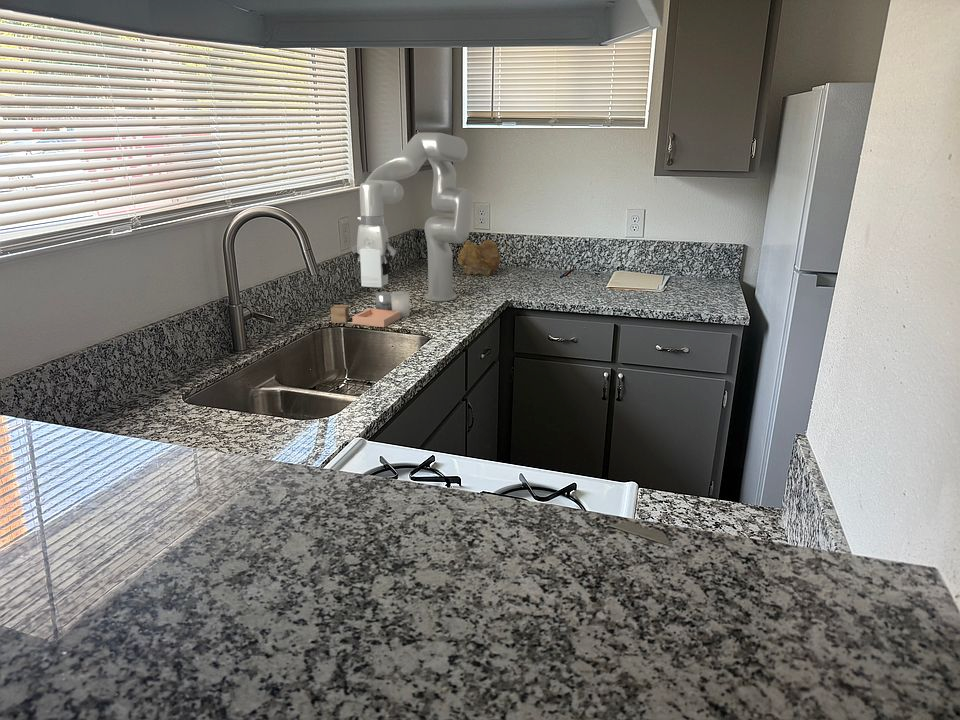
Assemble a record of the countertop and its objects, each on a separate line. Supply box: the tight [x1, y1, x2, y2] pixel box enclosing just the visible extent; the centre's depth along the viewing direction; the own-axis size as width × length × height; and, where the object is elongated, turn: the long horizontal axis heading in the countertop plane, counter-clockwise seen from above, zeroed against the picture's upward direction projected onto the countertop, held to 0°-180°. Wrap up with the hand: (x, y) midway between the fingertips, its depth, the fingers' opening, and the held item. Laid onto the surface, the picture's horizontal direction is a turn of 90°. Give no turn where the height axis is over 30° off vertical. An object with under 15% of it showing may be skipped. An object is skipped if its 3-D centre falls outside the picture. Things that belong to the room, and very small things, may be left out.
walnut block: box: [330, 304, 350, 324], centre depth 240 cm, size 5×5×5 cm
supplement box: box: [360, 249, 389, 288], centre depth 234 cm, size 7×7×13 cm
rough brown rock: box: [457, 239, 501, 277], centre depth 316 cm, size 23×17×15 cm
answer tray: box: [351, 307, 401, 328], centre depth 240 cm, size 12×12×2 cm
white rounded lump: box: [391, 290, 411, 318], centre depth 247 cm, size 6×6×8 cm
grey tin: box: [375, 291, 392, 311], centre depth 254 cm, size 6×6×6 cm
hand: (374, 273), depth 235 cm, fingers closed on supplement box, 8 cm apart
